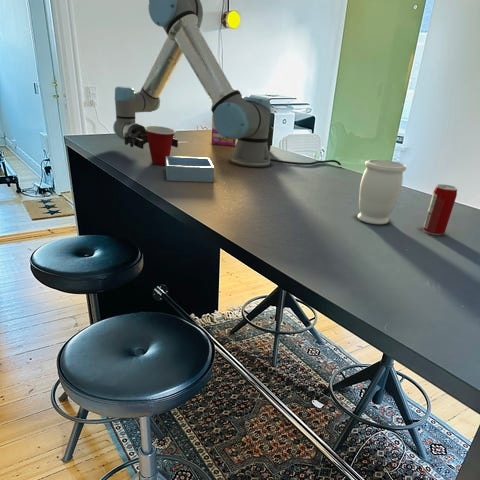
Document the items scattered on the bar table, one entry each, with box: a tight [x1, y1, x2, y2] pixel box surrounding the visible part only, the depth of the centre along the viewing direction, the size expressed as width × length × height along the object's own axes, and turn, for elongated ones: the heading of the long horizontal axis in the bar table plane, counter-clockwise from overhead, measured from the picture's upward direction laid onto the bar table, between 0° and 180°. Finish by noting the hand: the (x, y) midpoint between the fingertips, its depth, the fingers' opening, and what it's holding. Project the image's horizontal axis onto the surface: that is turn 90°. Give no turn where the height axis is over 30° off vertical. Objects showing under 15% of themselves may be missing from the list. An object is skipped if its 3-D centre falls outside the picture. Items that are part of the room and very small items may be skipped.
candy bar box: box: [211, 113, 237, 147], centre depth 203 cm, size 11×5×16 cm, turn 81°
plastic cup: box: [144, 125, 176, 166], centre depth 159 cm, size 11×11×12 cm
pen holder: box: [267, 126, 274, 152], centre depth 197 cm, size 9×9×10 cm
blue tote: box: [165, 155, 215, 183], centre depth 148 cm, size 15×15×5 cm
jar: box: [357, 159, 407, 225], centre depth 117 cm, size 11×10×15 cm
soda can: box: [422, 183, 458, 236], centre depth 113 cm, size 6×6×12 cm
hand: (160, 144), depth 159 cm, fingers open, 13 cm apart
